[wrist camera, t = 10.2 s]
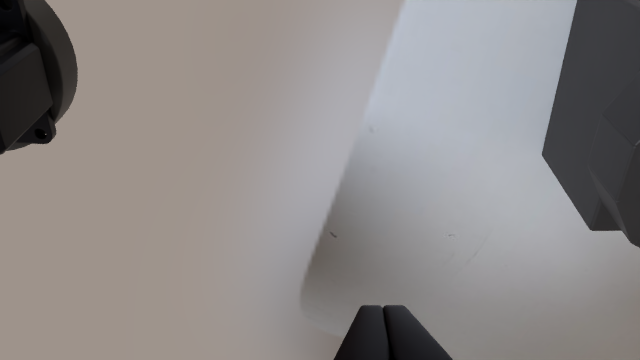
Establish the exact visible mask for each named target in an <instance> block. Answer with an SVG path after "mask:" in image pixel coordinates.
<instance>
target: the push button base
mask: <svg viewBox="0 0 640 360" xmlns="http://www.w3.org/2000/svg"><path fill="white" fill-rule="evenodd" d="M542 156H543V158H544V159H545V161H546V162H547V164H548V165H549V167H550V169H551V170H552V172H553V173H554V175H555V176H556V178H557V179H558V181H559V183H560V184H561V186H562V187H563V189H564V190H565V192H566V193H567V195H568V196H569V198H570V200H571V201H572V203H573V204H574V206H575V207H576V209H577V210H578V212H579V214H580V215H581V217H582V218H583V220H584V221H585V223H586V224H587V226H588V227H589V229H590V230H592V231H622V232H623V233H624V234H625V236H626V237H627V238H628V240H629V241H630V243H632V244H634V245H636V246H637V247H639V248H640V0H577V4H576V8H575V13H574V17H573V21H572V26H571V30H570V34H569V39H568V43H567V47H566V52H565V56H564V60H563V65H562V69H561V73H560V78H559V82H558V86H557V91H556V95H555V99H554V104H553V108H552V112H551V117H550V121H549V125H548V130H547V134H546V138H545V143H544V147H543V151H542Z"/></svg>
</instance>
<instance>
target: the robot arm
mask: <svg viewBox="0 0 640 360" xmlns="http://www.w3.org/2000/svg"><path fill="white" fill-rule="evenodd" d="M10 1H11V2H12V4H13V8H11V7H9V6H7V5H6V3H5V2H4V0H0V154H3V153H4V152H5V151H6V150H7V149H8V148H9V147H10V146H11V145H12V144H13V143H35V144H47V143H49V142H50V141H51V140H52V139H53V138H54V137H55V135H56V128H55V124H54V120H53V116H52V112H51V108H50V107H51V106H52V104H53V102H52V98H51V94H50V90H49V86H48V81H47V77H46V73H45V69H44V65H43V61H42V57H41V53H40V49H39V48H38V47H37V46H36V44H35V43H34V39H33V35H32V31H31V27H30V23H29V19H28V15H27V11H26V7H25V3H24V0H10ZM39 129H43V130H44V131H45V132H46V135H45V134H42V133H41V132H40V131H39ZM334 360H453V359H452V358H451V357H450V356H449V355H448V354H447V352H446V351H445V350H444V349H443V348H442V347H441V346H440V345H439V344H438V342H437V341H436V340H435V339H434V338H433V337H432V336H431V335H430V333H429V332H428V331H427V330H426V329H425V328H424V327H423V326H422V325H421V323H420V322H419V321H418V320H417V319H416V318H415V317H414V316H413V314H412V313H411V312H410V311H409V310H408V309H407V308H406V307H405V306H403V305H386V306H384V308H382V307H381V306H380V305H363V306H361V307H360V309H359V311H358V313H357V315H356V317H355V319H354V321H353V322H352V324H351V326H350V328H349V330H348V332H347V334H346V336H345V338H344V340H343V342H342V344H341V346H340V348H339V350H338V352H337V354H336V356H335V358H334Z"/></svg>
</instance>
